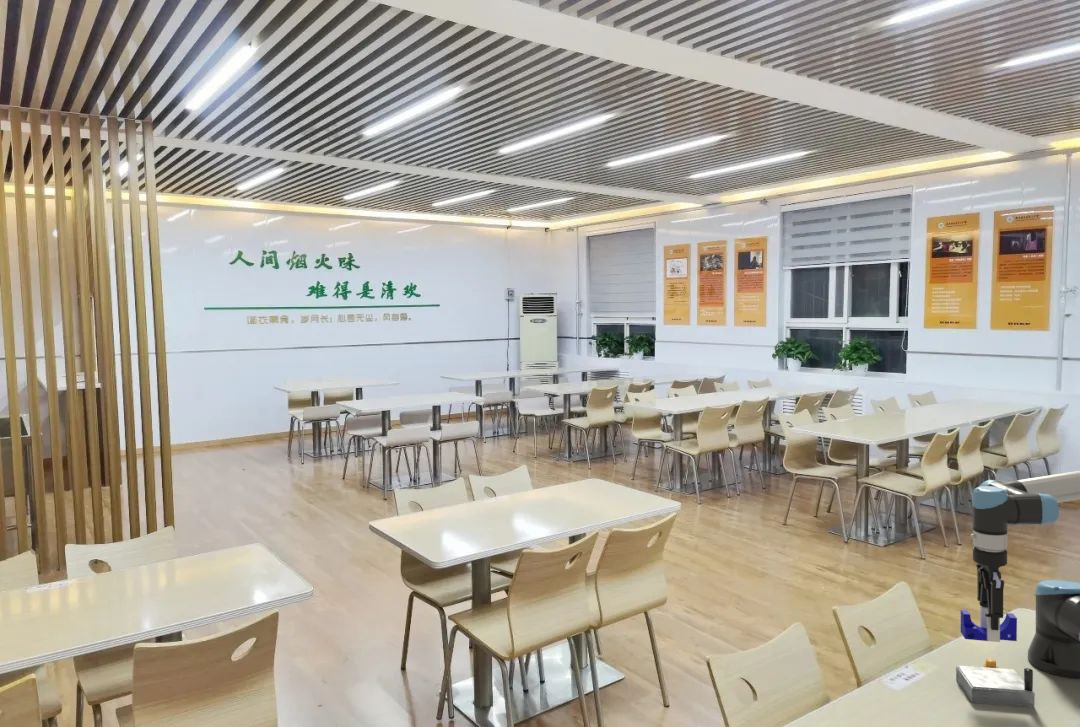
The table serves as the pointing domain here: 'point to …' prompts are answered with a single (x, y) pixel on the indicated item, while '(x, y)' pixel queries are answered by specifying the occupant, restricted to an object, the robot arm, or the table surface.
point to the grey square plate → (996, 685)
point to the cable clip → (978, 633)
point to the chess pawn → (990, 663)
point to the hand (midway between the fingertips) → (990, 636)
